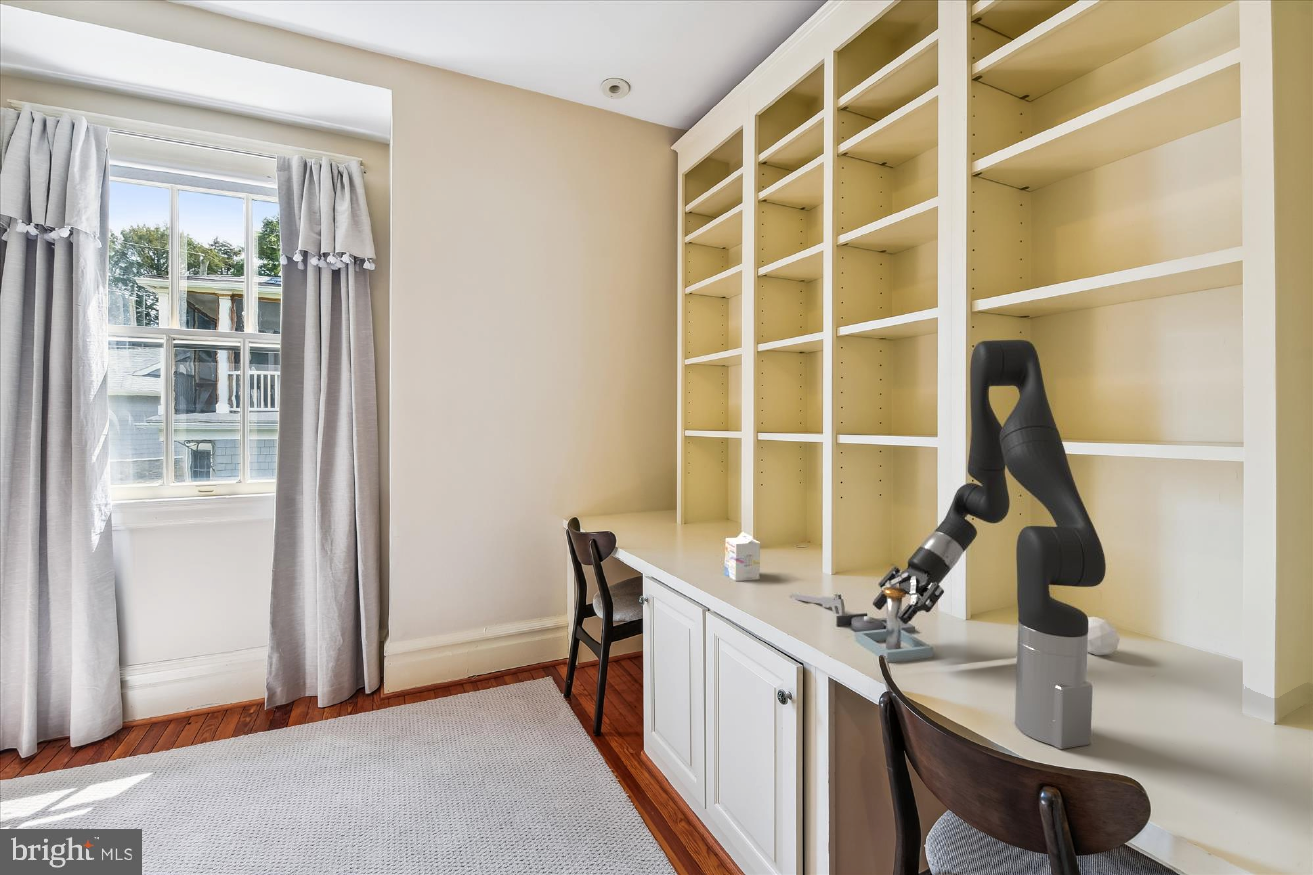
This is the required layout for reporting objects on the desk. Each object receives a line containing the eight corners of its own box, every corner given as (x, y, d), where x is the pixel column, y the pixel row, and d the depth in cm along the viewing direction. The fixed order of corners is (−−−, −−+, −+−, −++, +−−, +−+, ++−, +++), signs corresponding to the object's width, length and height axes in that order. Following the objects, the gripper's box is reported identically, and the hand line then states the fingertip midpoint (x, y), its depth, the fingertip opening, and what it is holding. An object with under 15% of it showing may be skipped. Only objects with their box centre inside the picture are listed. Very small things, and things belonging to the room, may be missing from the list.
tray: (933, 661, 117) (933, 647, 117) (886, 667, 115) (887, 652, 115) (898, 640, 128) (898, 627, 128) (855, 645, 125) (855, 632, 125)
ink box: (723, 574, 181) (724, 532, 181) (747, 572, 184) (748, 531, 183) (735, 581, 173) (736, 538, 172) (760, 579, 175) (760, 536, 175)
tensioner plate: (919, 637, 130) (919, 620, 130) (857, 644, 126) (858, 626, 126) (893, 623, 139) (894, 607, 139) (835, 629, 135) (835, 612, 135)
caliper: (844, 620, 141) (845, 595, 141) (841, 621, 141) (842, 596, 141) (791, 596, 160) (791, 574, 160) (788, 597, 159) (788, 575, 159)
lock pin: (908, 653, 120) (910, 592, 120) (890, 655, 119) (892, 593, 118) (895, 645, 124) (896, 586, 124) (877, 647, 123) (879, 587, 123)
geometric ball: (1103, 669, 120) (1110, 648, 116) (1063, 644, 126) (1068, 623, 122) (1123, 648, 123) (1131, 626, 118) (1083, 624, 129) (1089, 602, 124)
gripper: (903, 539, 129) (857, 592, 127) (949, 554, 115) (899, 614, 113) (922, 560, 131) (877, 613, 128) (970, 578, 117) (922, 637, 115)
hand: (888, 613), depth 121 cm, fingers open, 8 cm apart
